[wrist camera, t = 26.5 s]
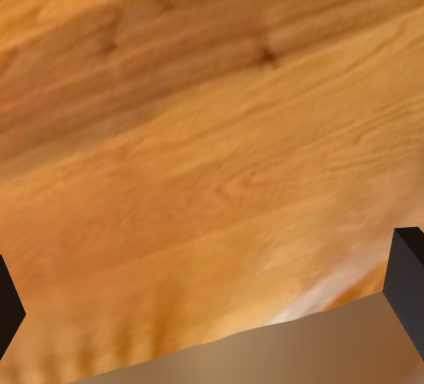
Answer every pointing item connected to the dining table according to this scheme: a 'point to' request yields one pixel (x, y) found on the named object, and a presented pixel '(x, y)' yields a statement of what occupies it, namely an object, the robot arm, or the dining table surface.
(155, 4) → the dining table surface
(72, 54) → the dining table surface
